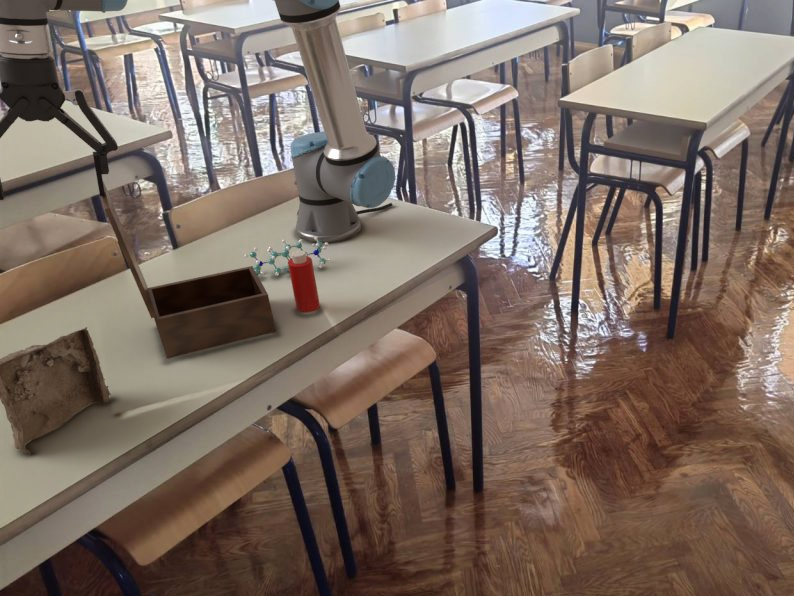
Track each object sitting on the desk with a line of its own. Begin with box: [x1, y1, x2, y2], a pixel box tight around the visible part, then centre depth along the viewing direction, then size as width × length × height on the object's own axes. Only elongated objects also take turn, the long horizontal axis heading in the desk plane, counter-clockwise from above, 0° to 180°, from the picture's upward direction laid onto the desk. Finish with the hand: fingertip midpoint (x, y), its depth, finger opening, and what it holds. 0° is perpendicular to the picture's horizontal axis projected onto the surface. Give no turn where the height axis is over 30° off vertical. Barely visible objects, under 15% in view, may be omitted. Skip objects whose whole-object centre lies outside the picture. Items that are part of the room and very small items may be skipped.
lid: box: [101, 181, 156, 319], centre depth 131 cm, size 21×13×1 cm
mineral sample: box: [0, 326, 112, 456], centre depth 119 cm, size 17×4×15 cm, turn 154°
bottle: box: [287, 250, 321, 313], centre depth 150 cm, size 5×5×13 cm
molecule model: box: [243, 237, 332, 276], centre depth 165 cm, size 8×18×7 cm, turn 115°
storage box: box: [148, 265, 277, 359], centre depth 144 cm, size 20×13×9 cm
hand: (53, 197), depth 122 cm, fingers open, 13 cm apart
